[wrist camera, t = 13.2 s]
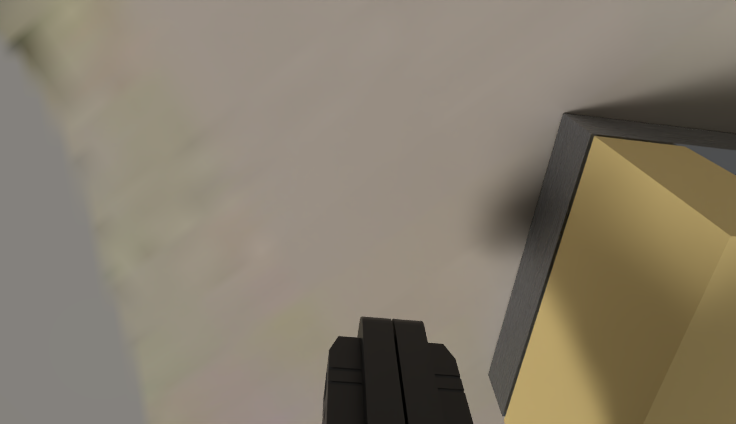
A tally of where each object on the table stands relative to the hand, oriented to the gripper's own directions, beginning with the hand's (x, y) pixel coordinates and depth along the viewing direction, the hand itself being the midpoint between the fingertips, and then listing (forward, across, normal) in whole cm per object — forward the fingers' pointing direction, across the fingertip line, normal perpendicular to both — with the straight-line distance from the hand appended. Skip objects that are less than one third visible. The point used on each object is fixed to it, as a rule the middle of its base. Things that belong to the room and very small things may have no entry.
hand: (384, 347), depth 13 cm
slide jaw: (+3, -6, 0) cm, 7 cm away
